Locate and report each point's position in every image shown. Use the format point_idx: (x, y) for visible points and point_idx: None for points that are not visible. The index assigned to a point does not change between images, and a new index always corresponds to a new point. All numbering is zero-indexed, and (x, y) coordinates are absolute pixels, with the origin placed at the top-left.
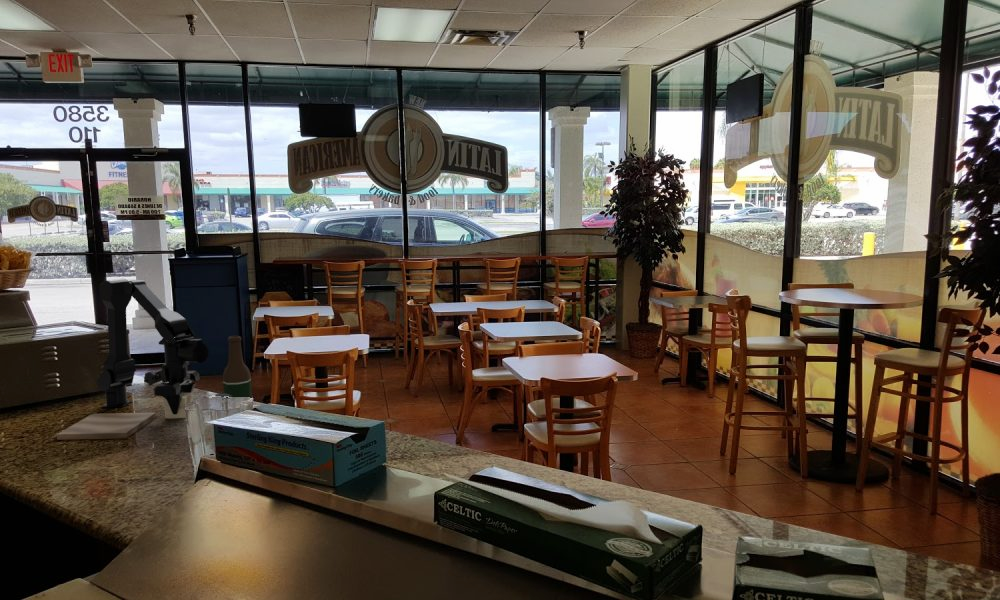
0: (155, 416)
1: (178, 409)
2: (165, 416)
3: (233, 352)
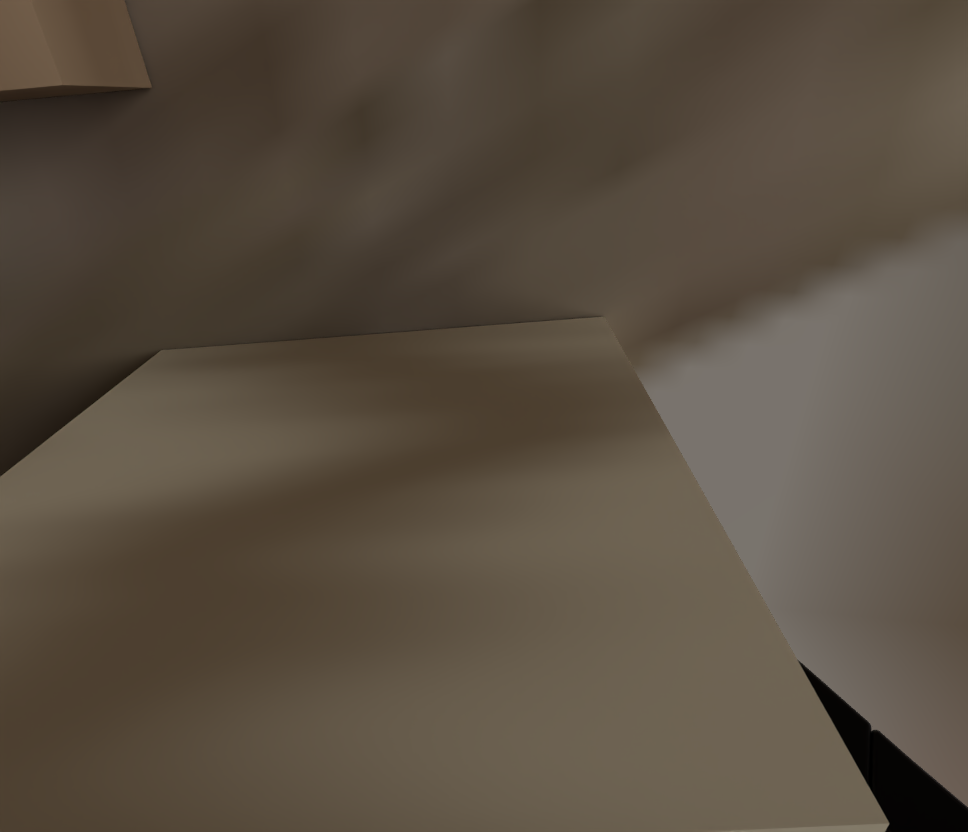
0: (94, 90)
1: None
2: (139, 378)
3: None
